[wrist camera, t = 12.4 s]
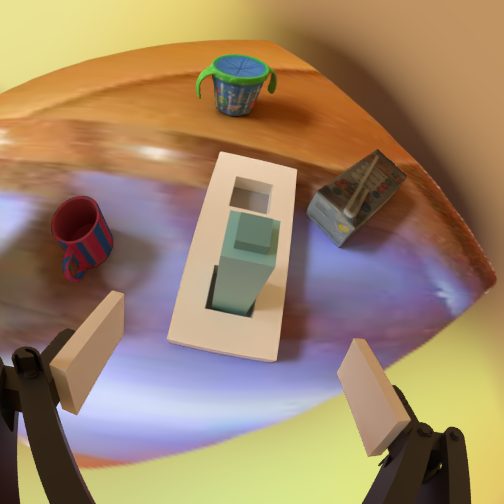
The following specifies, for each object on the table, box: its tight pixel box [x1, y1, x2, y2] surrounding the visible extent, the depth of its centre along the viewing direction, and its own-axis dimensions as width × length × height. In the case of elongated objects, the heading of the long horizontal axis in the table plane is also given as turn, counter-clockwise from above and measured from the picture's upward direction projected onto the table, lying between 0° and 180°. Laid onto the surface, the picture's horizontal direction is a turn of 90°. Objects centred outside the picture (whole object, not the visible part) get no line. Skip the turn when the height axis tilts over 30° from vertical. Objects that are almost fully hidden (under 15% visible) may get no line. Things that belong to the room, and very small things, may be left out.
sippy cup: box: [196, 54, 277, 116], centre depth 48 cm, size 16×10×10 cm
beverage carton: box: [306, 149, 407, 247], centre depth 43 cm, size 8×19×7 cm, turn 132°
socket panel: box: [167, 152, 297, 363], centre depth 37 cm, size 12×28×3 cm, turn 171°
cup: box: [51, 196, 113, 283], centre depth 31 cm, size 7×10×7 cm
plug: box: [211, 210, 281, 316], centre depth 27 cm, size 4×4×16 cm
